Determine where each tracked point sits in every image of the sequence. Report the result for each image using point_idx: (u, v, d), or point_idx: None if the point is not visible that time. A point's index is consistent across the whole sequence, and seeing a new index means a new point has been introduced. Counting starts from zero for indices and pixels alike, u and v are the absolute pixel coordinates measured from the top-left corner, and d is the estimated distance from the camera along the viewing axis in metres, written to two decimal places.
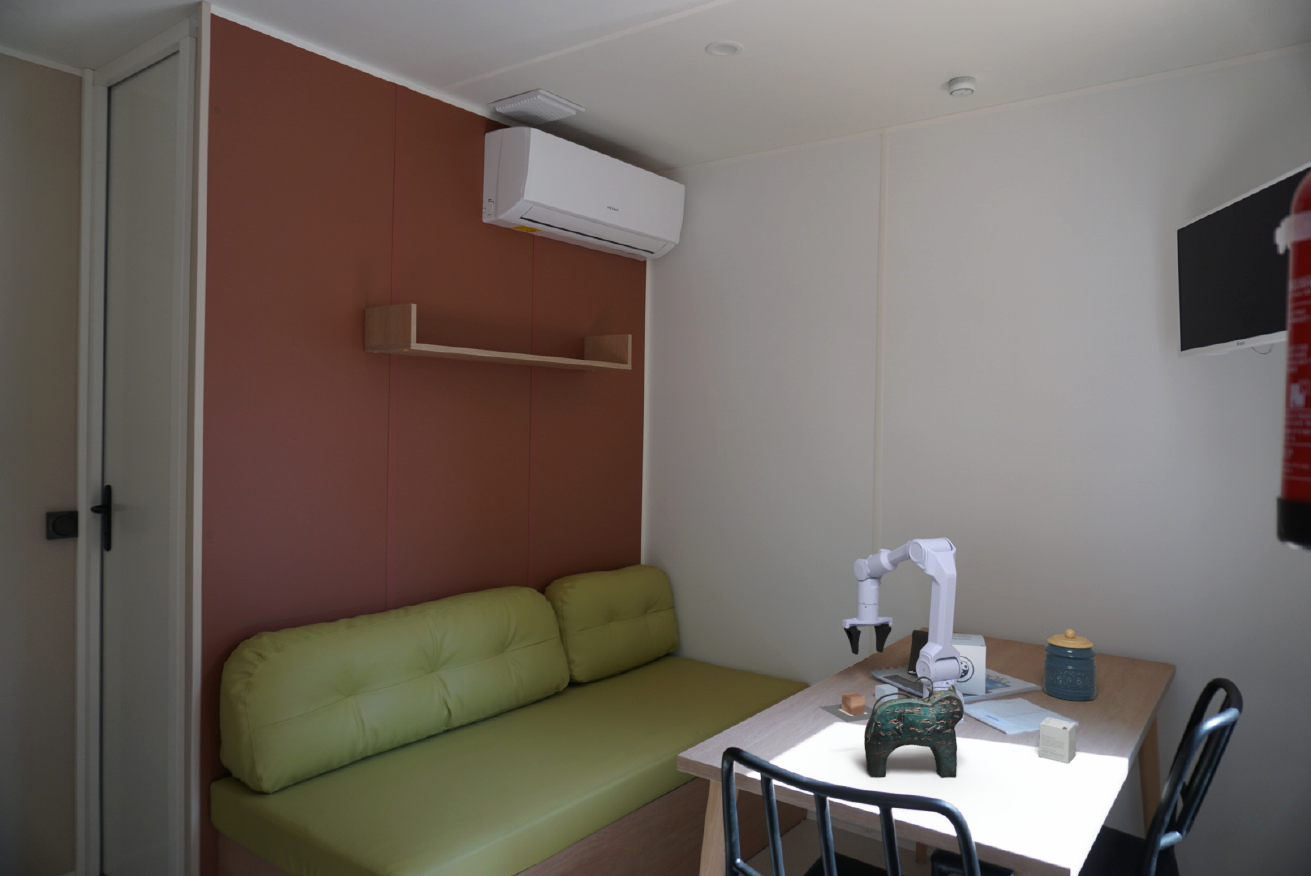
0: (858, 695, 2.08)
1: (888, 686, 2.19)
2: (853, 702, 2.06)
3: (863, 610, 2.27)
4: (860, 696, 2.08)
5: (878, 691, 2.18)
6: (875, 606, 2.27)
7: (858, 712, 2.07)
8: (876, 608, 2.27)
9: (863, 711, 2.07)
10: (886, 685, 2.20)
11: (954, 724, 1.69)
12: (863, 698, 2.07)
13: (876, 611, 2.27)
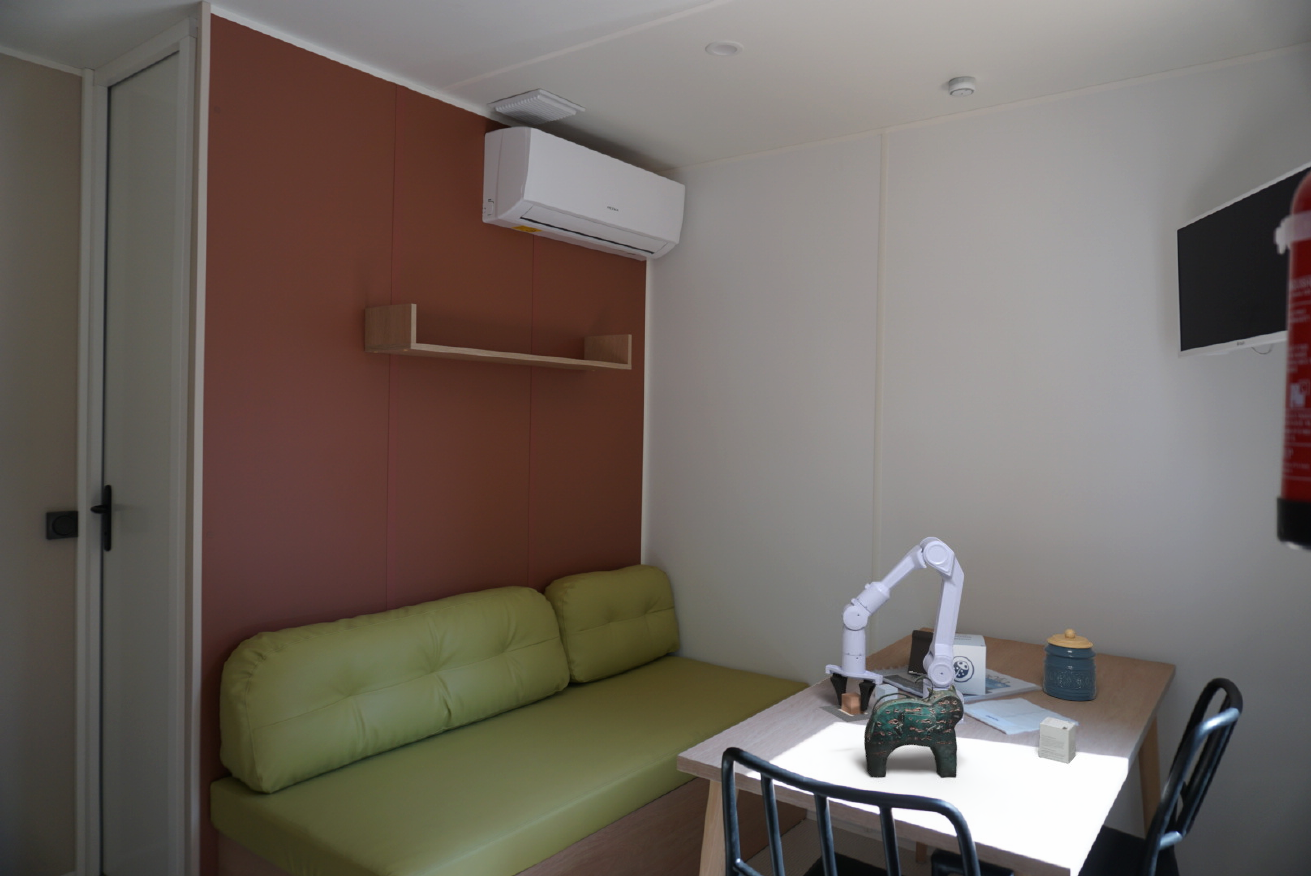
0: (858, 695, 2.08)
1: (888, 686, 2.19)
2: (853, 702, 2.06)
3: None
4: (860, 696, 2.08)
5: (878, 691, 2.18)
6: (850, 657, 2.06)
7: (858, 712, 2.07)
8: (852, 659, 2.06)
9: (863, 711, 2.07)
10: (886, 685, 2.20)
11: (954, 725, 1.69)
12: None
13: (852, 663, 2.06)
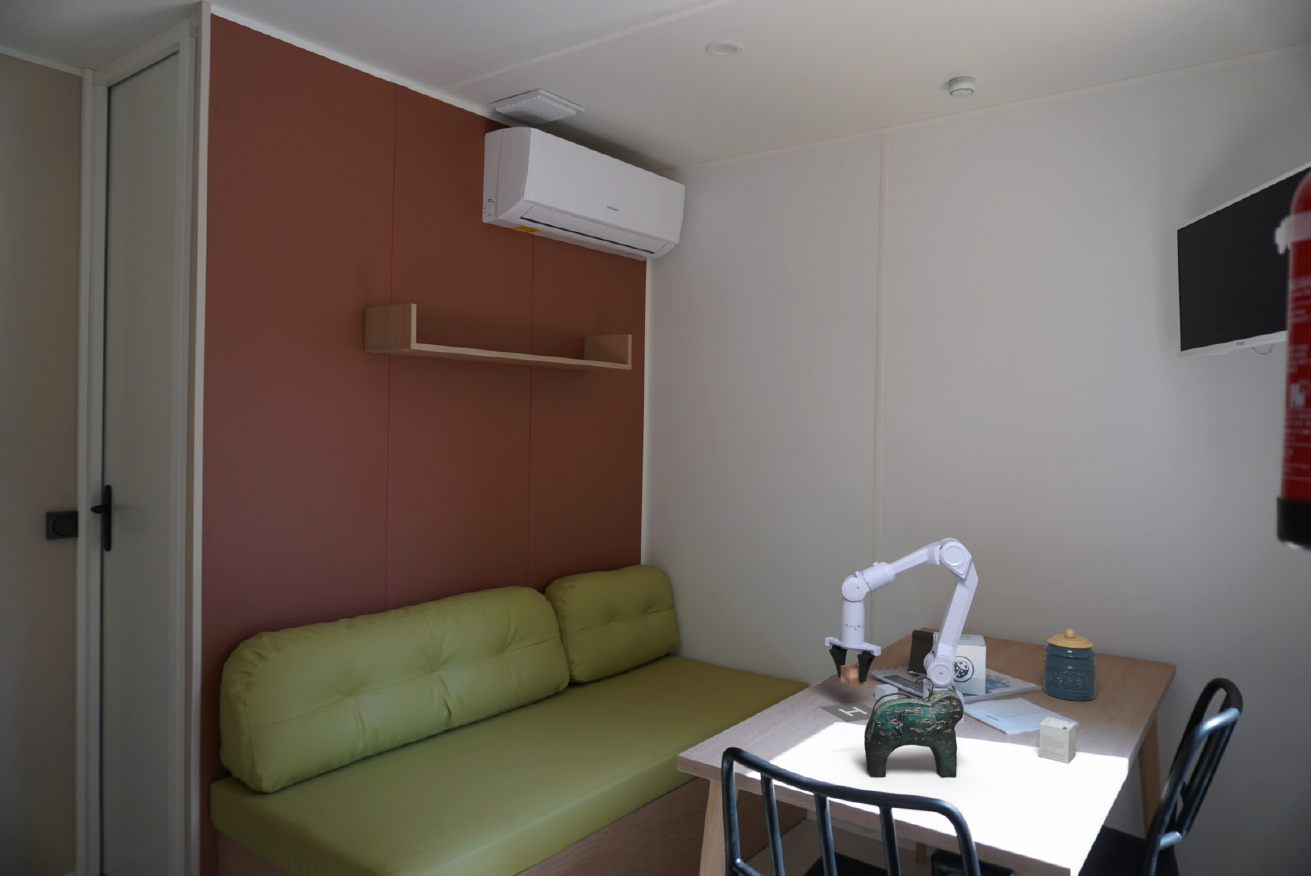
0: (857, 667, 2.09)
1: (888, 686, 2.19)
2: (851, 673, 2.07)
3: (841, 630, 2.10)
4: None
5: (878, 691, 2.18)
6: (849, 628, 2.07)
7: (857, 683, 2.07)
8: (851, 631, 2.07)
9: (862, 683, 2.08)
10: (886, 685, 2.20)
11: (954, 724, 1.69)
12: None
13: (851, 634, 2.07)
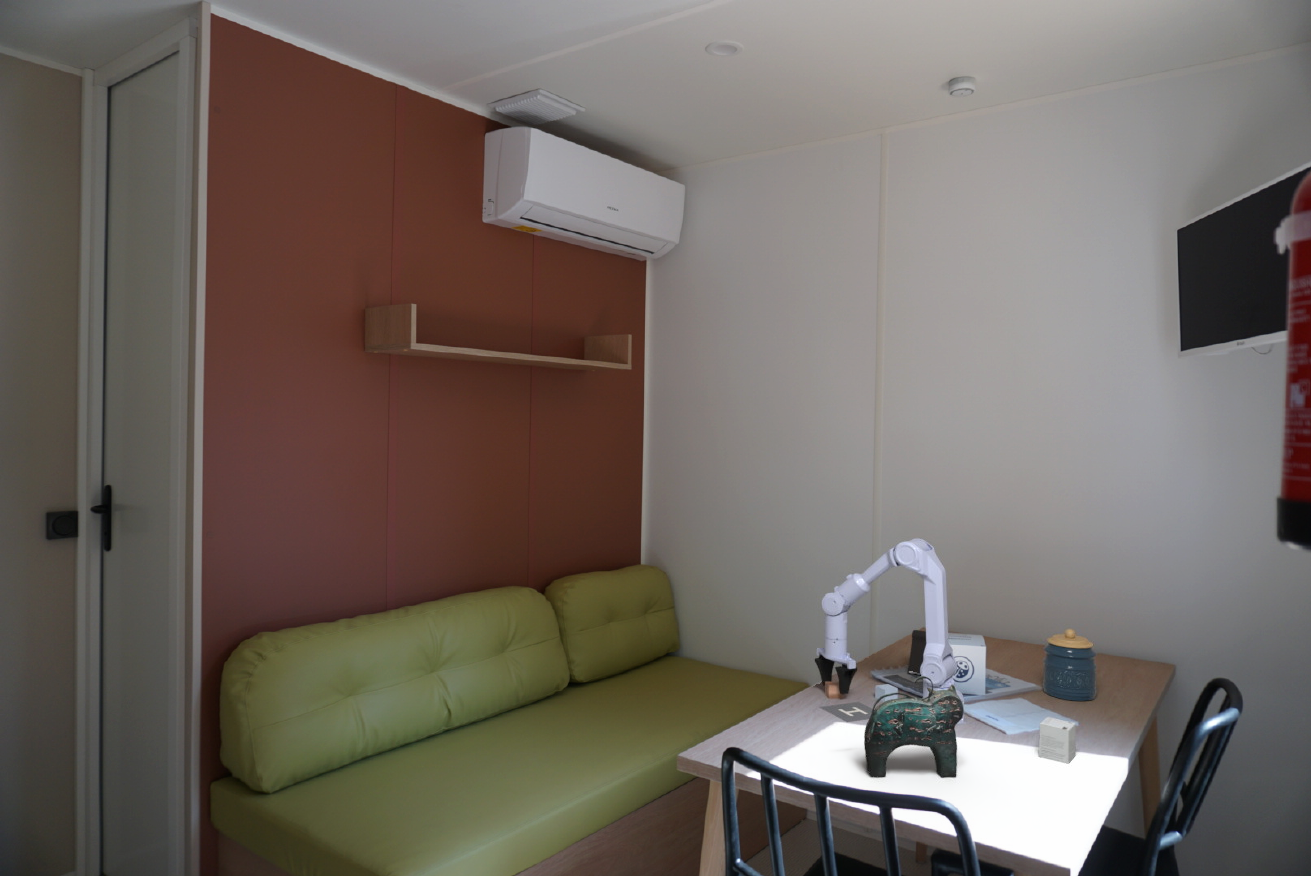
0: None
1: (888, 686, 2.19)
2: (830, 689, 2.19)
3: None
4: None
5: (878, 691, 2.18)
6: (828, 640, 2.19)
7: None
8: (830, 643, 2.19)
9: None
10: (886, 685, 2.20)
11: (954, 724, 1.69)
12: None
13: (829, 646, 2.19)
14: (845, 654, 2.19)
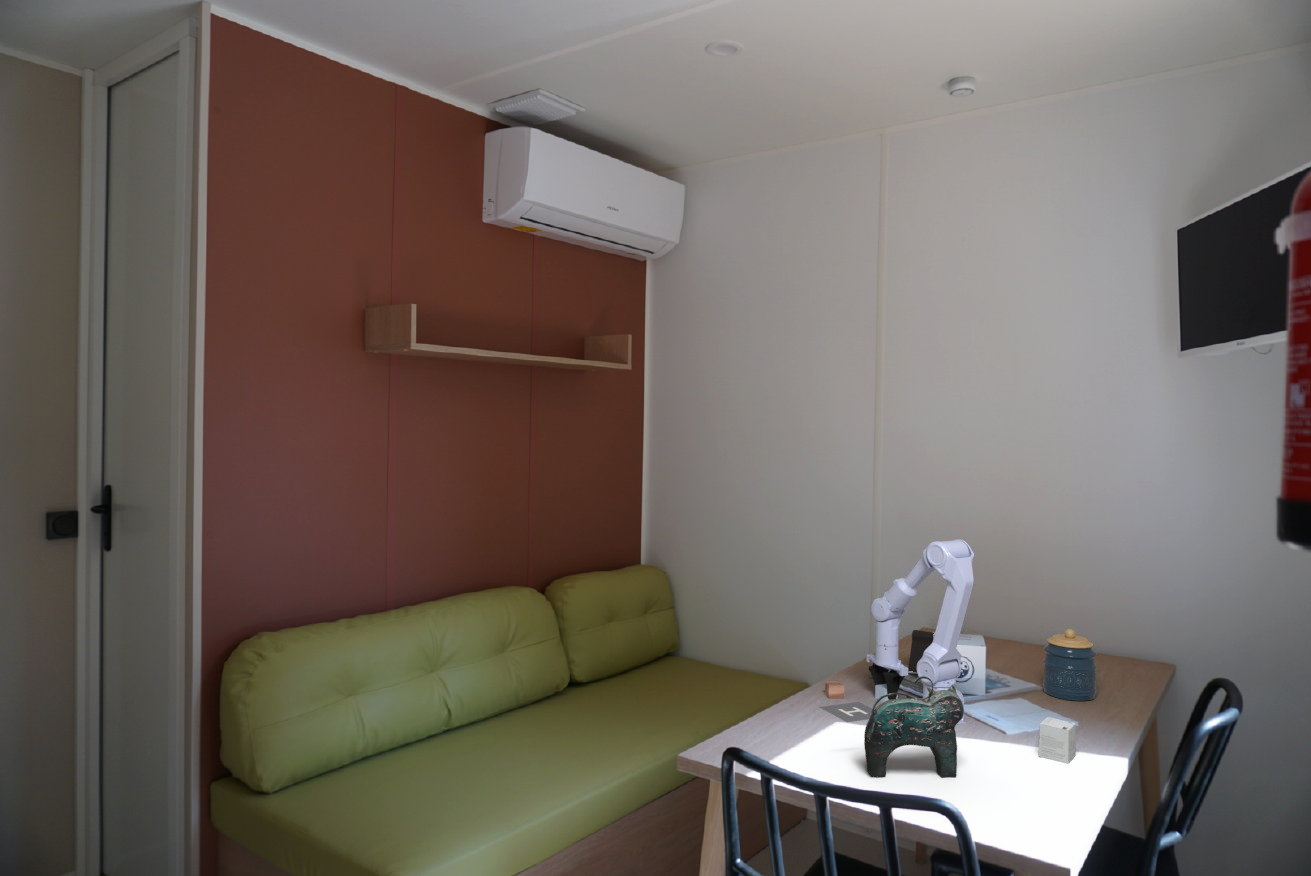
0: (839, 684, 2.20)
1: None
2: (830, 689, 2.19)
3: None
4: (840, 685, 2.19)
5: (878, 690, 2.18)
6: (879, 647, 2.17)
7: None
8: (881, 650, 2.16)
9: None
10: (886, 685, 2.20)
11: (954, 725, 1.69)
12: (842, 687, 2.19)
13: (881, 653, 2.16)
14: (897, 661, 2.17)
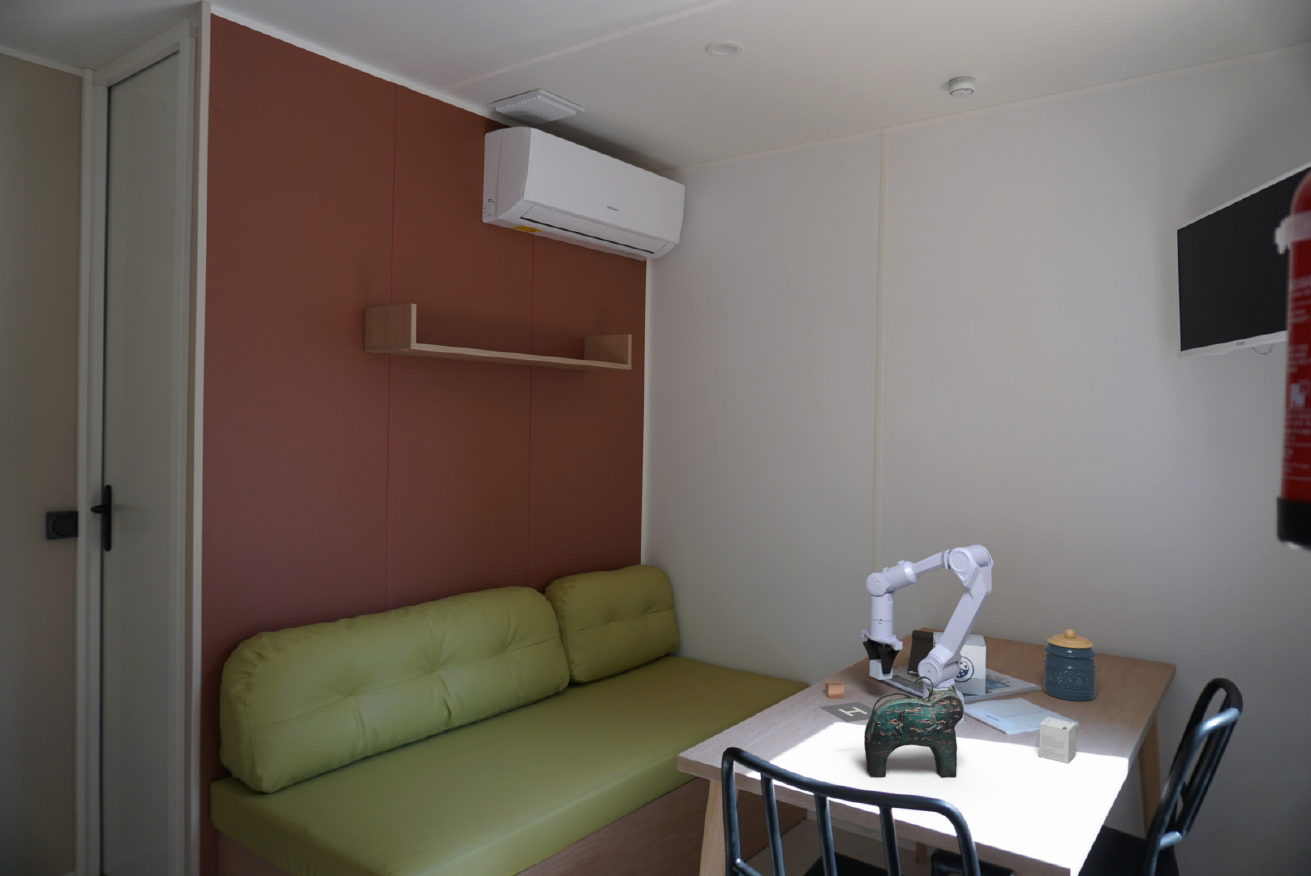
0: (839, 684, 2.20)
1: None
2: (830, 689, 2.19)
3: None
4: (840, 685, 2.19)
5: (872, 665, 2.17)
6: (874, 621, 2.15)
7: None
8: (875, 624, 2.15)
9: None
10: None
11: (954, 724, 1.69)
12: (842, 687, 2.19)
13: (875, 627, 2.15)
14: (891, 635, 2.15)
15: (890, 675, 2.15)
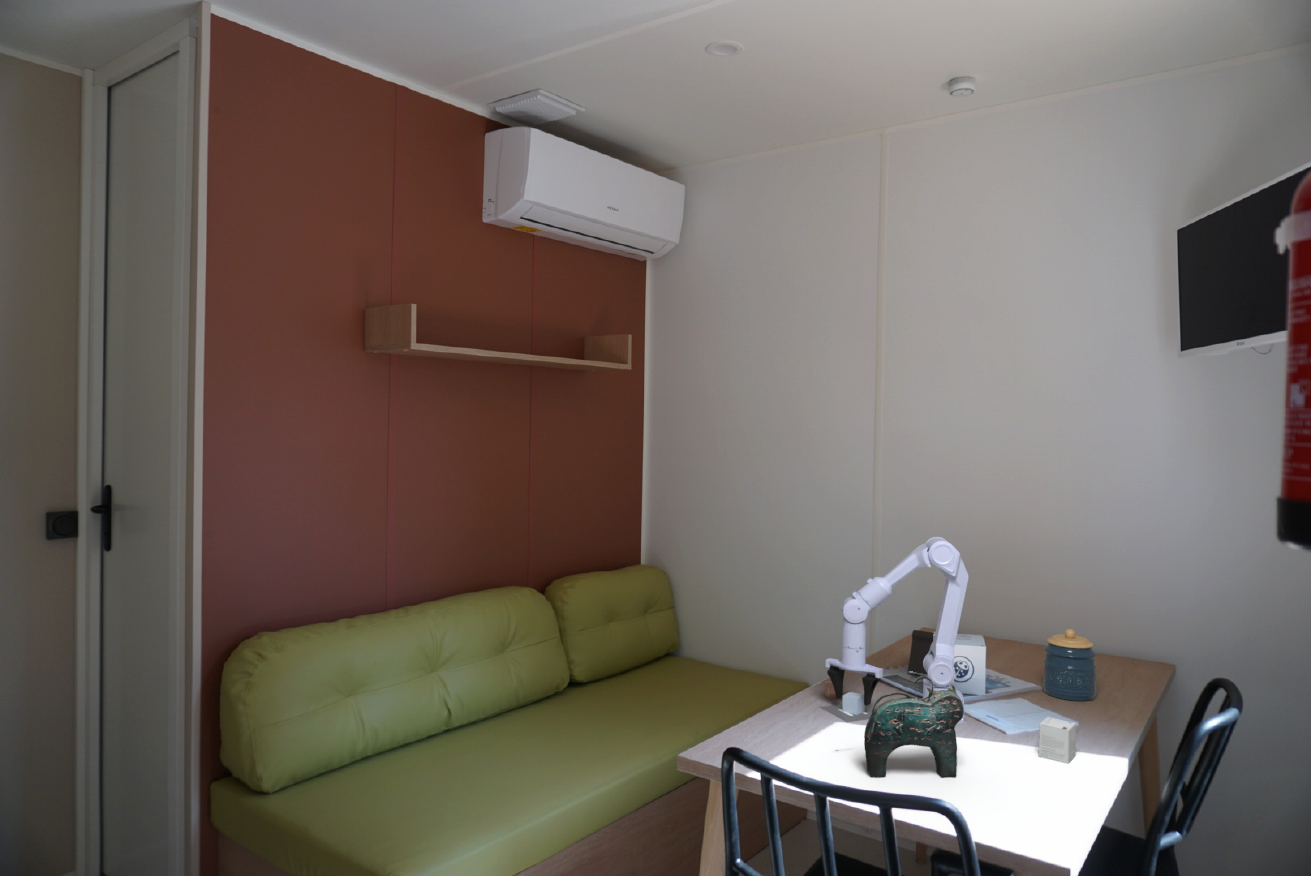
0: None
1: (855, 694, 2.09)
2: (830, 689, 2.19)
3: (842, 652, 2.09)
4: None
5: (846, 700, 2.08)
6: (851, 650, 2.06)
7: None
8: (852, 653, 2.06)
9: None
10: (851, 693, 2.10)
11: (954, 724, 1.69)
12: None
13: (852, 656, 2.06)
14: None
15: (863, 708, 2.08)
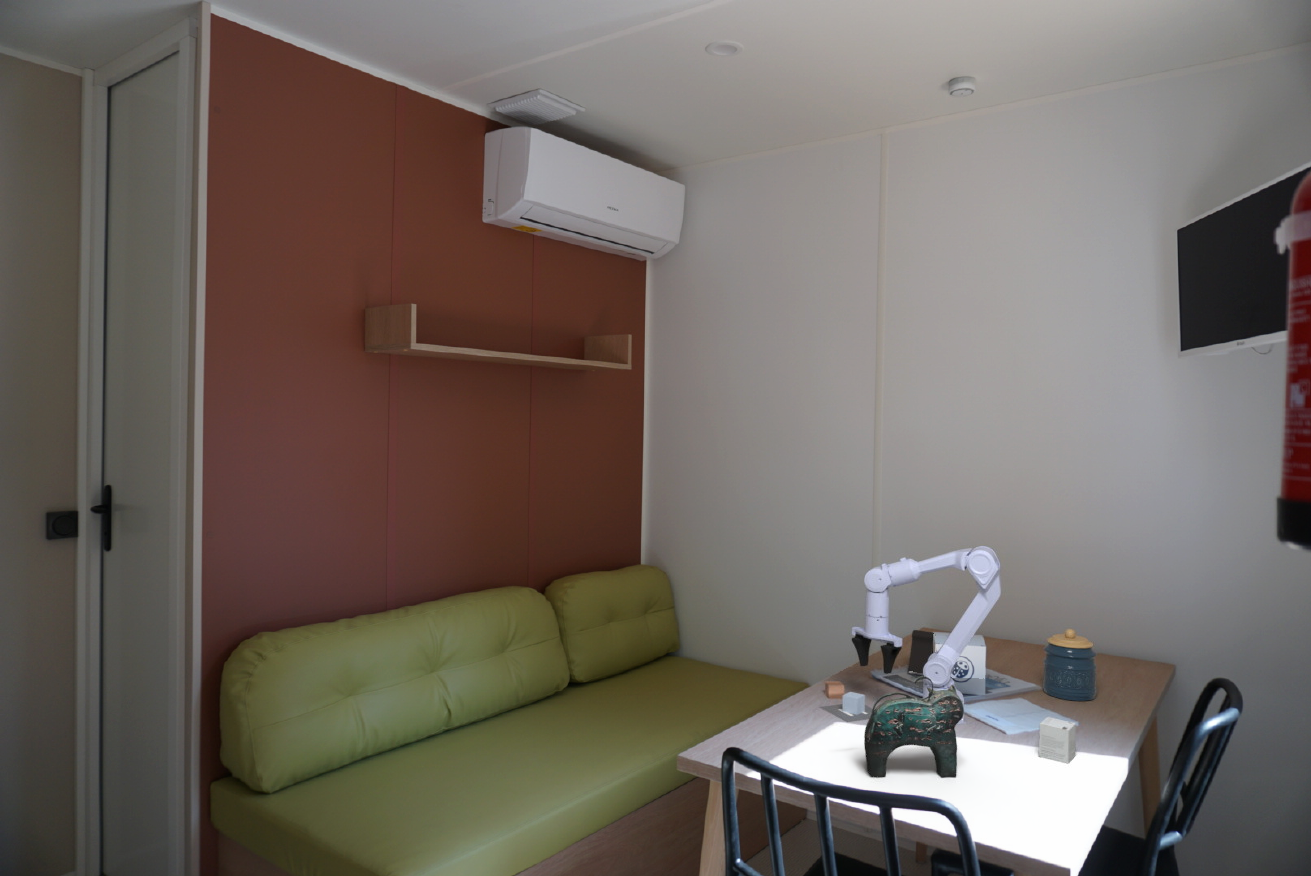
0: (839, 684, 2.20)
1: (855, 694, 2.09)
2: (830, 689, 2.19)
3: None
4: (840, 685, 2.19)
5: (846, 700, 2.08)
6: (871, 618, 2.09)
7: None
8: (873, 621, 2.09)
9: None
10: (851, 693, 2.10)
11: (954, 725, 1.69)
12: (842, 687, 2.19)
13: (873, 624, 2.09)
14: (887, 632, 2.10)
15: (863, 708, 2.08)
